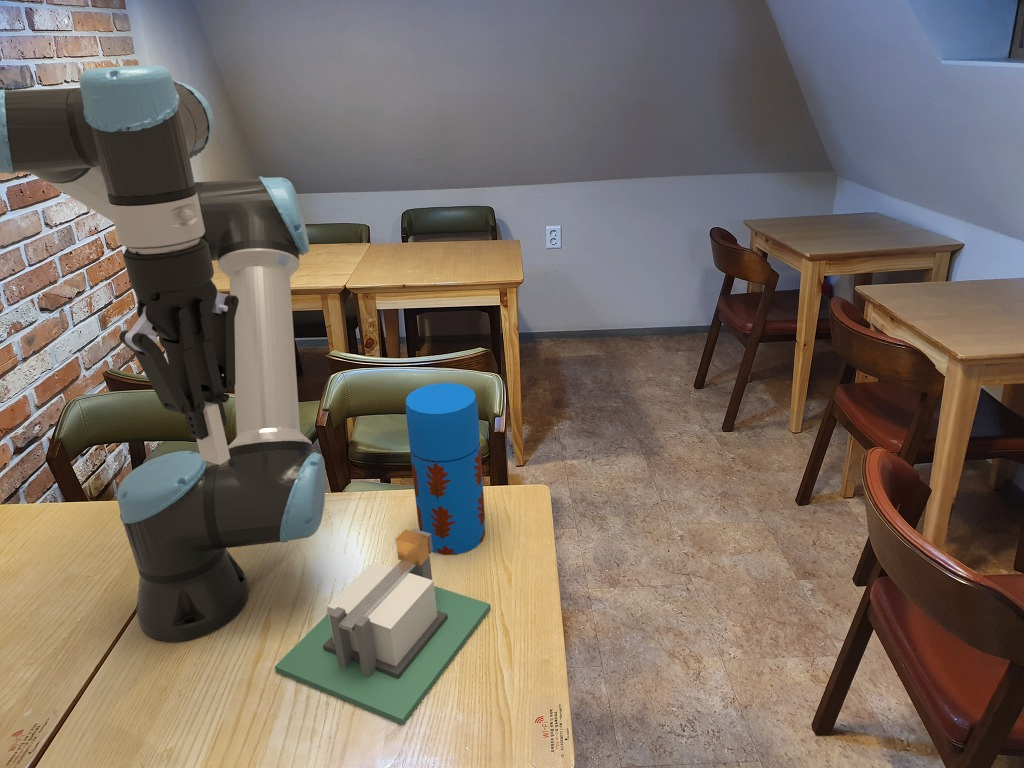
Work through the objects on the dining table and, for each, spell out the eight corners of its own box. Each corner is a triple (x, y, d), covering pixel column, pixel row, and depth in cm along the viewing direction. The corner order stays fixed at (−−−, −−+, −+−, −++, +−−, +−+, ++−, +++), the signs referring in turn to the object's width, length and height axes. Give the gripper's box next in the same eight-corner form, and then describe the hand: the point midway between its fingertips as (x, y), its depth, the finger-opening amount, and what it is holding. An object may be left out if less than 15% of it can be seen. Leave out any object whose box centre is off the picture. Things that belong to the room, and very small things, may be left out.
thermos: (476, 558, 120) (466, 416, 110) (411, 552, 122) (394, 412, 112) (492, 518, 130) (483, 384, 119) (431, 513, 132) (417, 380, 121)
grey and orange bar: (334, 625, 96) (330, 602, 95) (408, 550, 110) (405, 529, 108) (357, 634, 95) (353, 610, 93) (429, 557, 108) (427, 535, 107)
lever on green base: (275, 672, 101) (260, 606, 96) (375, 572, 118) (367, 512, 114) (403, 725, 92) (393, 656, 87) (490, 609, 110) (486, 546, 105)
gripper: (133, 265, 66) (193, 498, 76) (244, 229, 76) (284, 438, 86) (76, 257, 69) (141, 481, 79) (190, 224, 79) (234, 425, 90)
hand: (215, 458), depth 83 cm, fingers closed
